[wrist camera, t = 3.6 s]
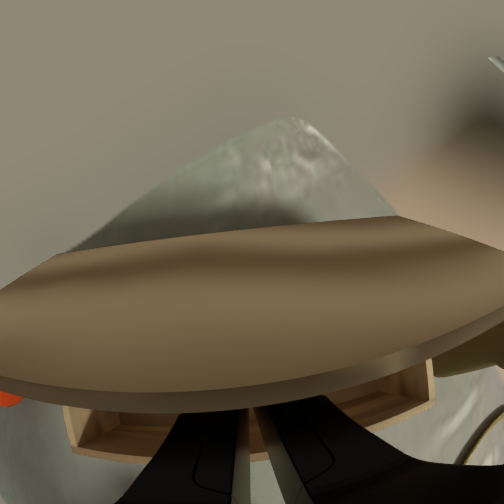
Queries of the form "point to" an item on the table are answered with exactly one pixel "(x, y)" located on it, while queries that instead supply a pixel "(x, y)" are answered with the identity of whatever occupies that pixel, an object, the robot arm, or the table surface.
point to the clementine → (9, 399)
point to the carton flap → (244, 315)
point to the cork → (472, 354)
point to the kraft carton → (159, 424)
